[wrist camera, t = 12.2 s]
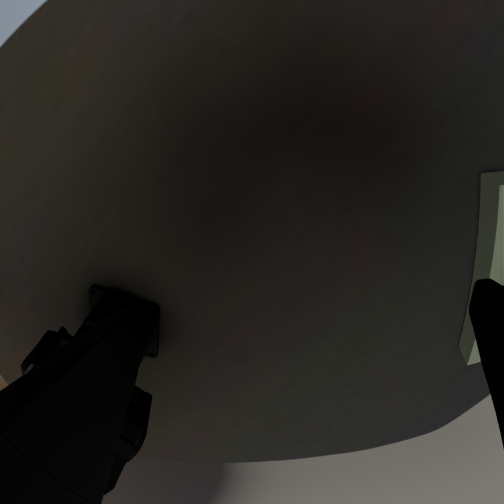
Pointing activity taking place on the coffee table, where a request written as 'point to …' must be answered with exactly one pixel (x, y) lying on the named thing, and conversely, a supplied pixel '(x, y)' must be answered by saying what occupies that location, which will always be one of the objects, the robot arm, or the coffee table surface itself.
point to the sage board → (486, 251)
